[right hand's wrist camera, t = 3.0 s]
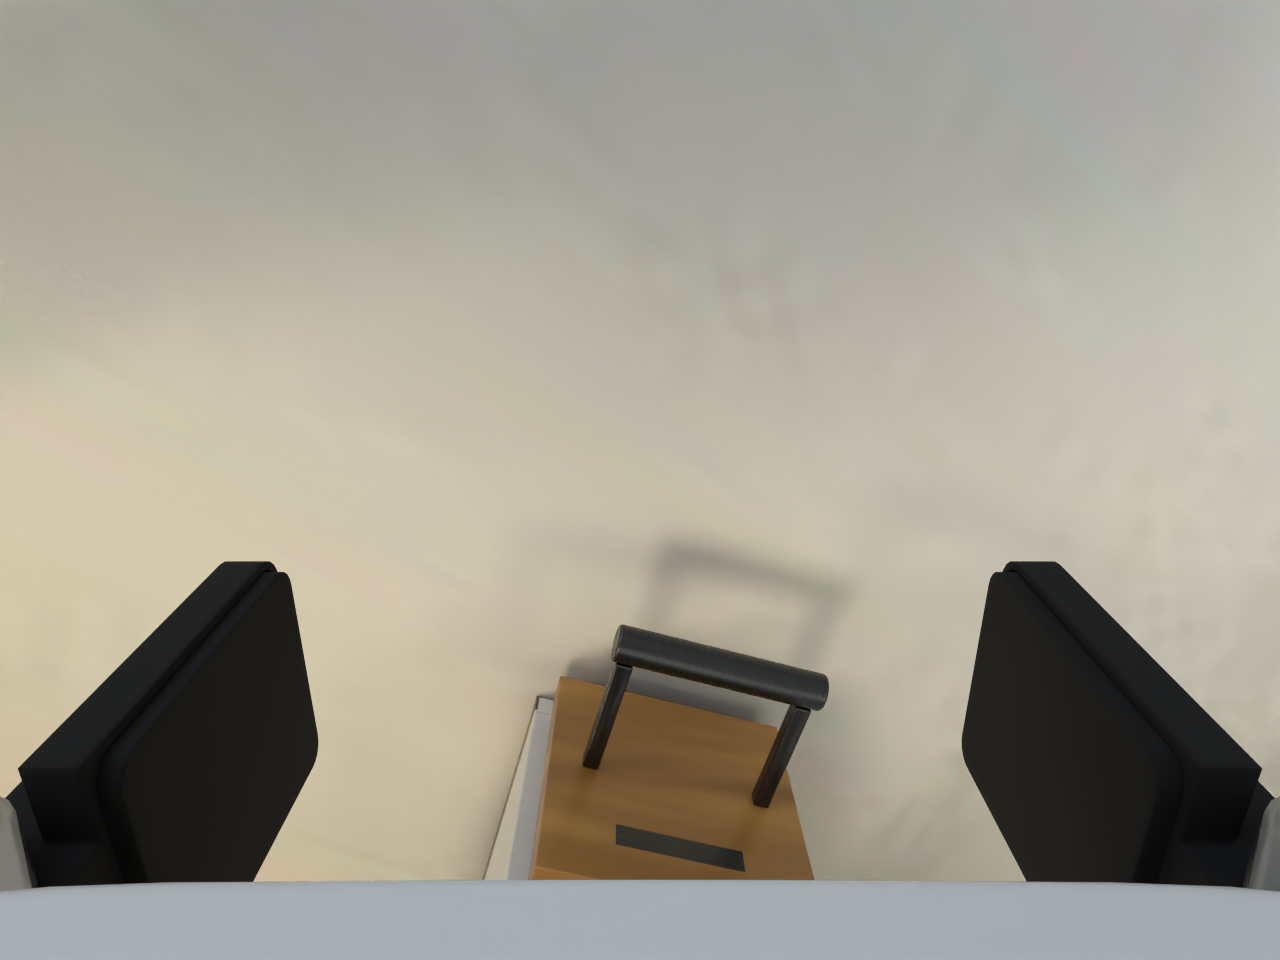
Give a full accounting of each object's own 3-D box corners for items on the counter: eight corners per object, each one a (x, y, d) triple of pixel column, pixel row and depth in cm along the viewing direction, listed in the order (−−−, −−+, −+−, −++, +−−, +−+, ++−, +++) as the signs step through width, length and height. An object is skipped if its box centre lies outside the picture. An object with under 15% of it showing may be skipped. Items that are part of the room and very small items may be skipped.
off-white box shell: (537, 695, 36) (495, 938, 25) (770, 750, 37) (829, 1004, 26) (470, 920, 41) (411, 1205, 30) (679, 962, 42) (695, 1252, 31)
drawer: (597, 554, 32) (584, 714, 23) (825, 612, 33) (898, 788, 24) (494, 890, 39) (453, 1119, 30) (689, 930, 40) (706, 1163, 31)
